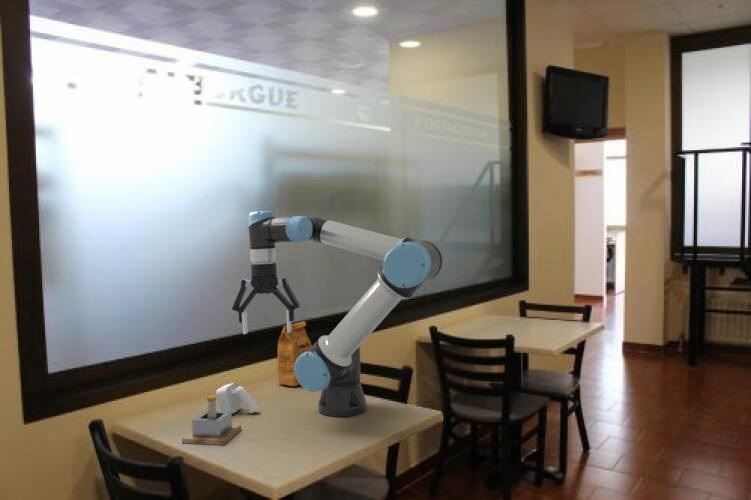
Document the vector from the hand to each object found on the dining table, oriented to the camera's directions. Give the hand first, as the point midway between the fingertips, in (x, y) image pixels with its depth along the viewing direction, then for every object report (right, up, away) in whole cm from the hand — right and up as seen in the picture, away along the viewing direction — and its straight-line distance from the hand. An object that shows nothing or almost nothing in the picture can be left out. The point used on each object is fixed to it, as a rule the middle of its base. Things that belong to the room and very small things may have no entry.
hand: (267, 332), depth 187 cm
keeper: (-13, -27, -15) cm, 33 cm away
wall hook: (-9, -26, +5) cm, 28 cm away
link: (-13, -26, -15) cm, 32 cm away
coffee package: (+4, -23, +37) cm, 44 cm away
